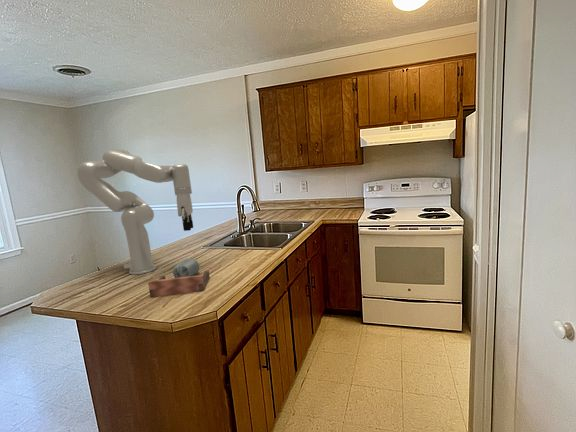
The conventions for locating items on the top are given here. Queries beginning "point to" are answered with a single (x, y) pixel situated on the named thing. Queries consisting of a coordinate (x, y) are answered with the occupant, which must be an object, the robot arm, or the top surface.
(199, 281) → the guide channel
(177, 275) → the grey rounded piece
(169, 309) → the top surface
